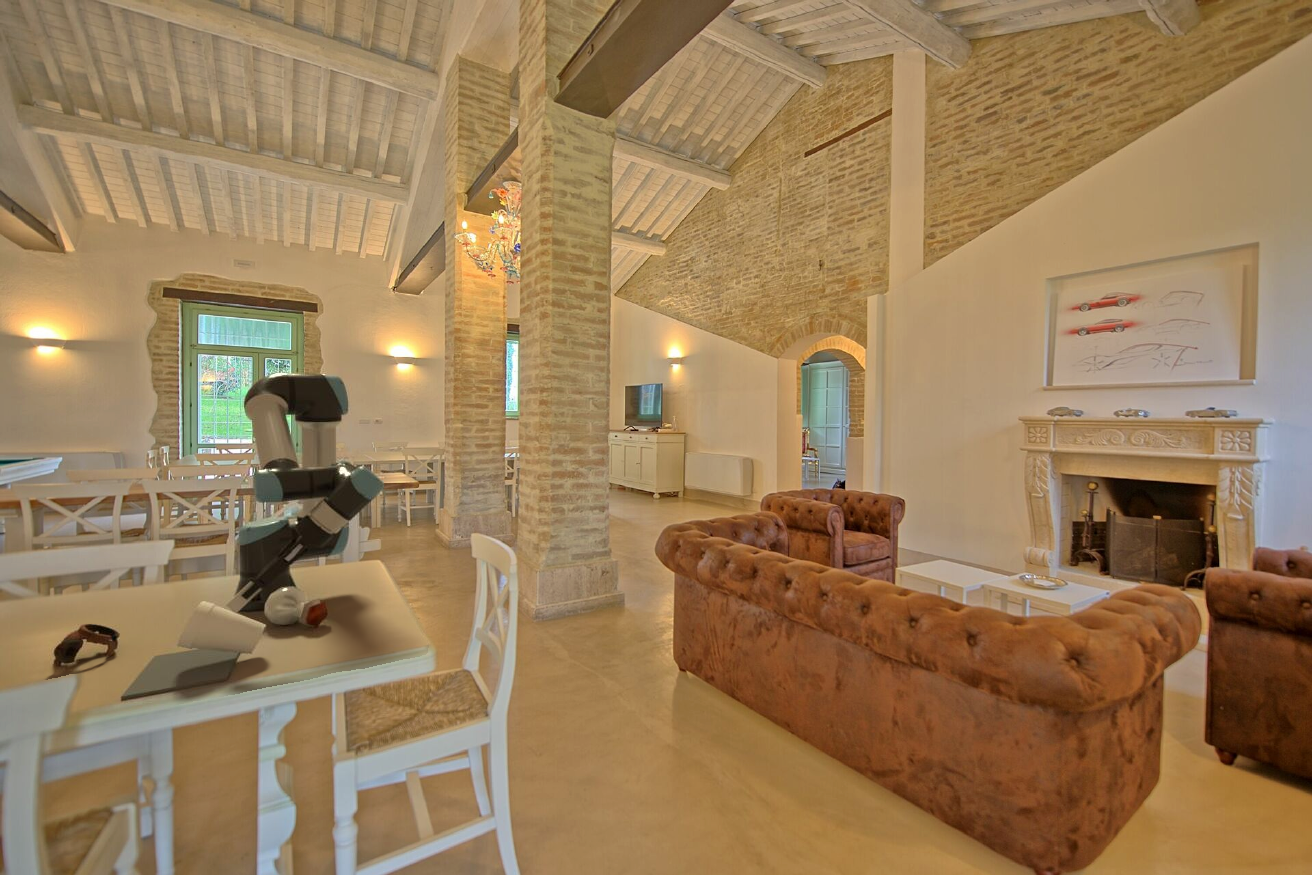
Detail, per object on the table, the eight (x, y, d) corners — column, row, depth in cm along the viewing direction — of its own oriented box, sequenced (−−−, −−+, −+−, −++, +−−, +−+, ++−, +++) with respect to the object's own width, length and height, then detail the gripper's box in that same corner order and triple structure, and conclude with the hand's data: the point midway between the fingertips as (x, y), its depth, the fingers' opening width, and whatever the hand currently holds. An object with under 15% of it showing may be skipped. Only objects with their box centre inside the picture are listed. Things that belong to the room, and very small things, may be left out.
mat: (244, 644, 132) (244, 641, 132) (226, 680, 114) (226, 677, 114) (154, 658, 124) (154, 655, 124) (121, 699, 107) (120, 696, 107)
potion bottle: (275, 624, 148) (320, 637, 143) (246, 614, 140) (293, 627, 135) (295, 590, 152) (340, 602, 148) (268, 578, 144) (315, 590, 140)
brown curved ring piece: (68, 655, 128) (93, 619, 130) (111, 670, 129) (135, 635, 131) (25, 664, 116) (53, 624, 119) (73, 681, 118) (99, 642, 120)
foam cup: (269, 616, 123) (200, 598, 118) (246, 660, 119) (174, 644, 114) (269, 619, 131) (205, 603, 126) (248, 661, 126) (180, 646, 121)
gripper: (334, 540, 125) (241, 628, 117) (335, 530, 136) (251, 609, 129) (305, 517, 122) (209, 606, 115) (309, 509, 134) (222, 589, 126)
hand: (231, 608), depth 122 cm, fingers closed
